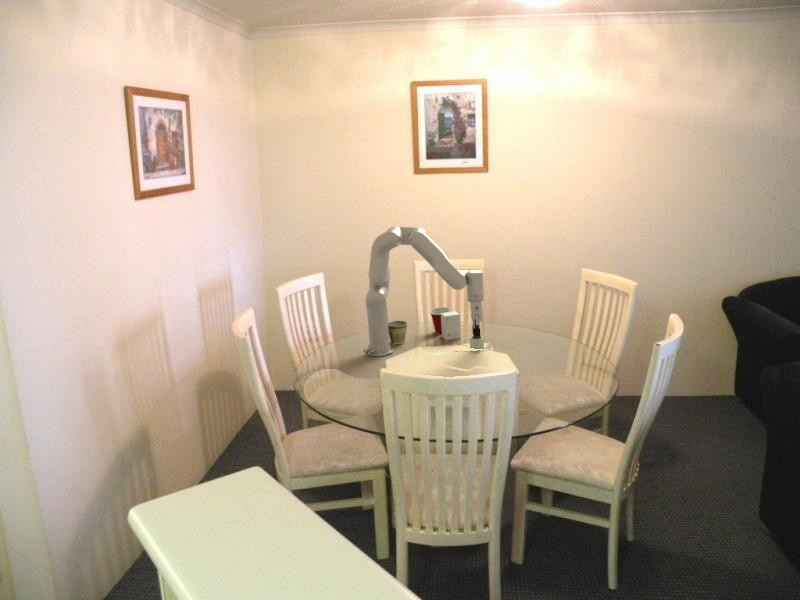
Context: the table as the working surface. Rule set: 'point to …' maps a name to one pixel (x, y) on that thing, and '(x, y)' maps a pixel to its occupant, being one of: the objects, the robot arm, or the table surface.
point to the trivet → (486, 345)
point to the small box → (450, 325)
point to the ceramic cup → (397, 331)
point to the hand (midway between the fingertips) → (476, 334)
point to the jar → (477, 342)
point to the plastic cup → (438, 317)
